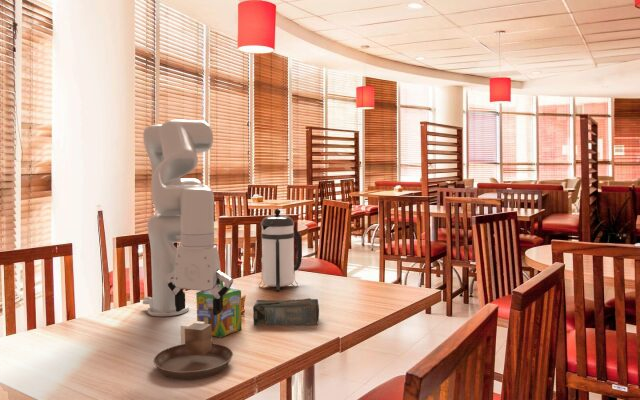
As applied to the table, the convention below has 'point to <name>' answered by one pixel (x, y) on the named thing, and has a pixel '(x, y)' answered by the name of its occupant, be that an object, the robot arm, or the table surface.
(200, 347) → the walnut block
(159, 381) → the table surface
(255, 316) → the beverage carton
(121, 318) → the table surface
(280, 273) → the coffee press
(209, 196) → the robot arm
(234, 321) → the chalk box
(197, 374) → the plant saucer
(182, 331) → the cream block
